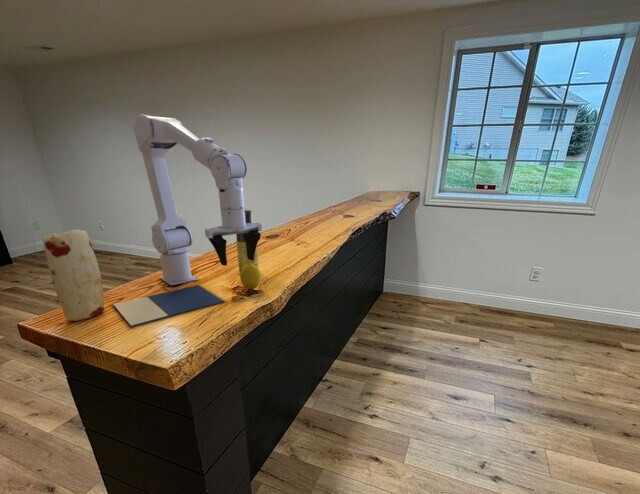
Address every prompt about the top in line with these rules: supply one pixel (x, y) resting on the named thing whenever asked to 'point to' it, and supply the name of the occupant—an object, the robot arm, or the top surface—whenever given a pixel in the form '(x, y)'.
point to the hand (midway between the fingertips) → (237, 262)
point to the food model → (75, 274)
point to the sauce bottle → (242, 246)
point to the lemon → (250, 276)
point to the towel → (165, 305)
